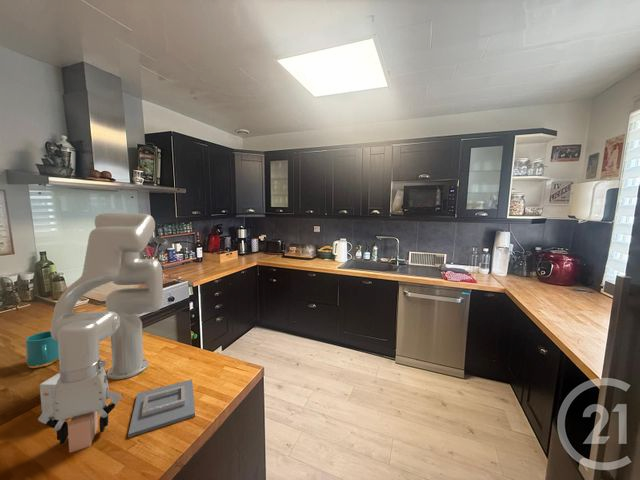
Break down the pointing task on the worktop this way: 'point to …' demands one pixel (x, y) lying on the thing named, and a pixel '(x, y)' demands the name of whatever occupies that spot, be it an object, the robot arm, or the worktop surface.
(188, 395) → the nest board
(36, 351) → the cup
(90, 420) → the key block
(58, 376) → the small box
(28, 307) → the worktop surface
